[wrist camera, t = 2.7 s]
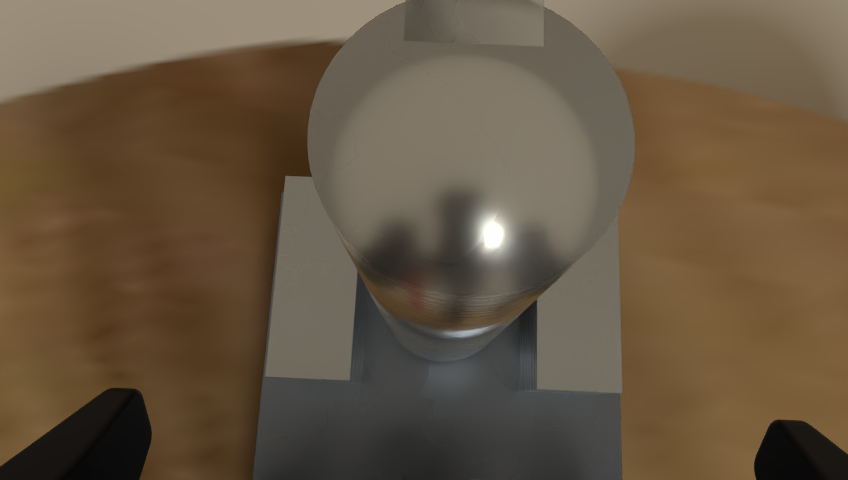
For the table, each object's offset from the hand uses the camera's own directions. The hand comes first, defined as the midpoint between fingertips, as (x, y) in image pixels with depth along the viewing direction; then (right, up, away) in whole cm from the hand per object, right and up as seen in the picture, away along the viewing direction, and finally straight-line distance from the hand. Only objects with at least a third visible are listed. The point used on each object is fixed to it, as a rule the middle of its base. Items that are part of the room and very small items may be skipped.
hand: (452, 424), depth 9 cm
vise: (0, -2, +11) cm, 11 cm away
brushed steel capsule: (0, +2, +10) cm, 10 cm away
